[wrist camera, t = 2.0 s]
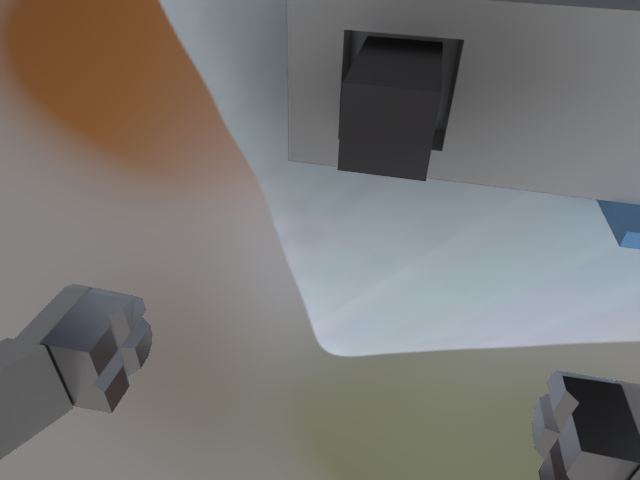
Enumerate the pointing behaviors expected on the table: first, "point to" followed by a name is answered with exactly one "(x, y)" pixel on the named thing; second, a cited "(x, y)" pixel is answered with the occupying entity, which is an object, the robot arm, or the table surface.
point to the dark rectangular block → (391, 108)
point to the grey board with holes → (493, 91)
